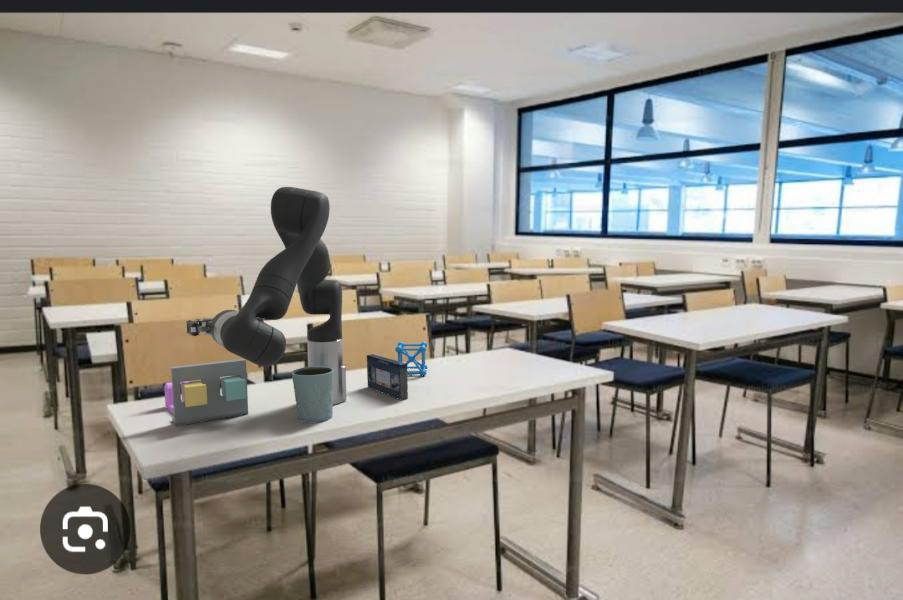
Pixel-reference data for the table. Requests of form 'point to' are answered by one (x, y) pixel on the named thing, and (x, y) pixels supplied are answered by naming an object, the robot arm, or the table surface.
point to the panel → (208, 391)
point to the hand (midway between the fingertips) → (218, 322)
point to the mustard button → (194, 393)
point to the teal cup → (313, 393)
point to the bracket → (170, 395)
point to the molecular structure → (413, 356)
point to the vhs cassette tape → (387, 376)
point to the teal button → (233, 388)
